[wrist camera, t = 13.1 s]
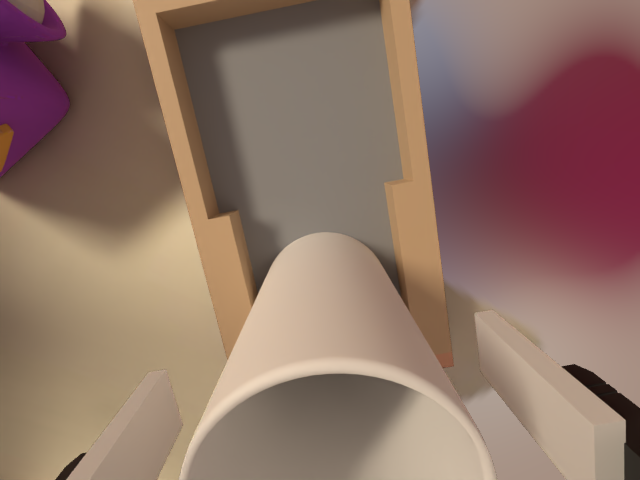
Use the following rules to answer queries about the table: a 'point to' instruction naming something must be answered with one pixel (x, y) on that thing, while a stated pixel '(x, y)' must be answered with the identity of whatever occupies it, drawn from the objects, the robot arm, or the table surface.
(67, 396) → the table surface
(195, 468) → the cup
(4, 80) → the toy camera
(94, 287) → the table surface
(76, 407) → the table surface
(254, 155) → the board
